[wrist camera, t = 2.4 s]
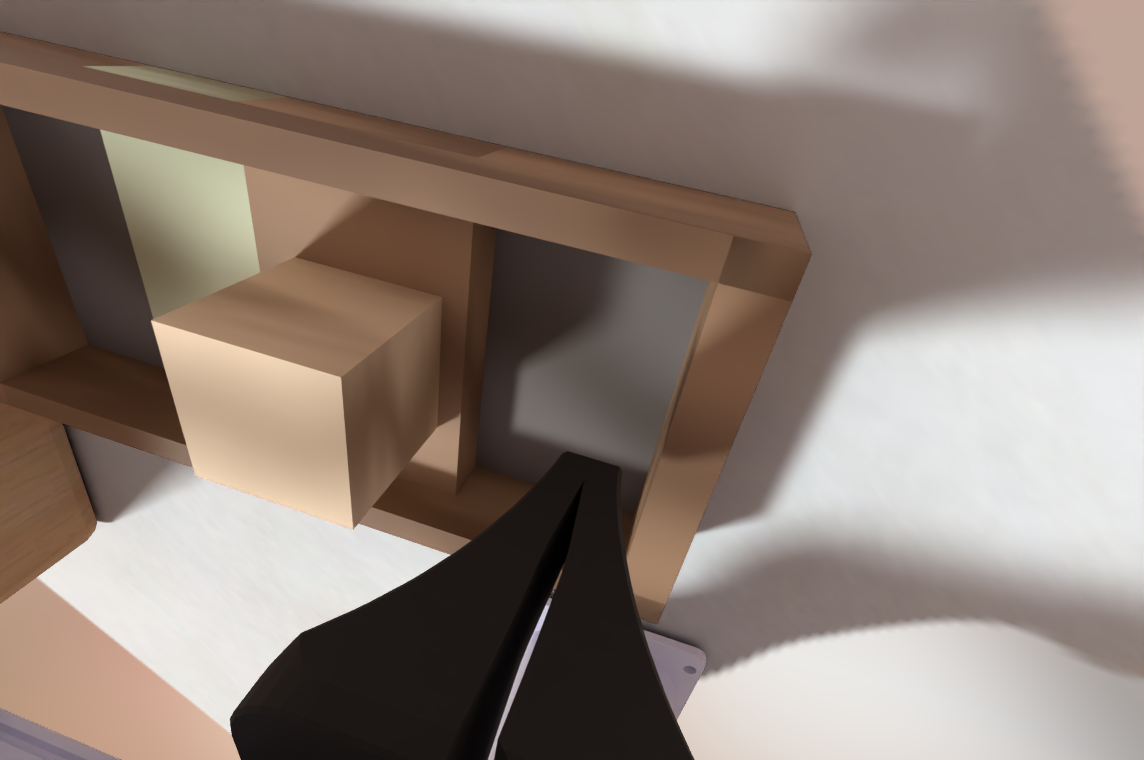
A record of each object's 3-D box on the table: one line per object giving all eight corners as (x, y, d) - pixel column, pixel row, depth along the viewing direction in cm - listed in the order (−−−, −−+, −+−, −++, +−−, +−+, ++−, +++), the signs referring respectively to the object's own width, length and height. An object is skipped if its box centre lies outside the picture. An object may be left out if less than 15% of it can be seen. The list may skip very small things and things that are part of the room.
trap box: (669, 541, 20) (657, 624, 17) (73, 352, 23) (-23, 394, 20) (794, 212, 13) (811, 254, 10) (-56, 18, 17) (-224, 9, 14)
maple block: (437, 427, 17) (352, 529, 13) (310, 388, 18) (195, 476, 14) (442, 297, 15) (341, 377, 11) (295, 256, 15) (151, 320, 12)
